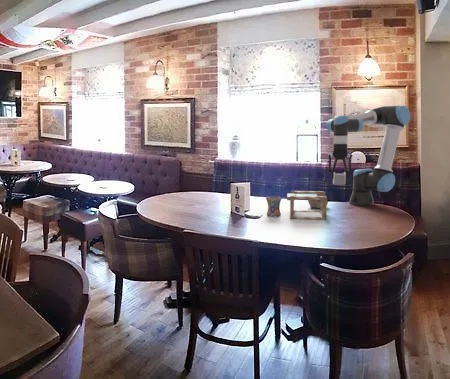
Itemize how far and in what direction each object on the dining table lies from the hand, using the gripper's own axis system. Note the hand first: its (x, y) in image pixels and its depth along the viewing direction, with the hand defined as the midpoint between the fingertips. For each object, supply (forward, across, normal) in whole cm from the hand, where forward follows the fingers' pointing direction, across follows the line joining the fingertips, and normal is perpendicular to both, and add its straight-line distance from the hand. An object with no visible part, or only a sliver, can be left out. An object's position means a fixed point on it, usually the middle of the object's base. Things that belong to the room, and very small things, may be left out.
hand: (339, 183), depth 232 cm
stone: (0, 0, 0) cm, 0 cm away
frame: (+19, +18, +2) cm, 26 cm away
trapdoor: (+9, +21, +1) cm, 23 cm away
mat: (+19, +18, +2) cm, 26 cm away
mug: (+19, +38, +1) cm, 42 cm away
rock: (+19, +11, -21) cm, 31 cm away
